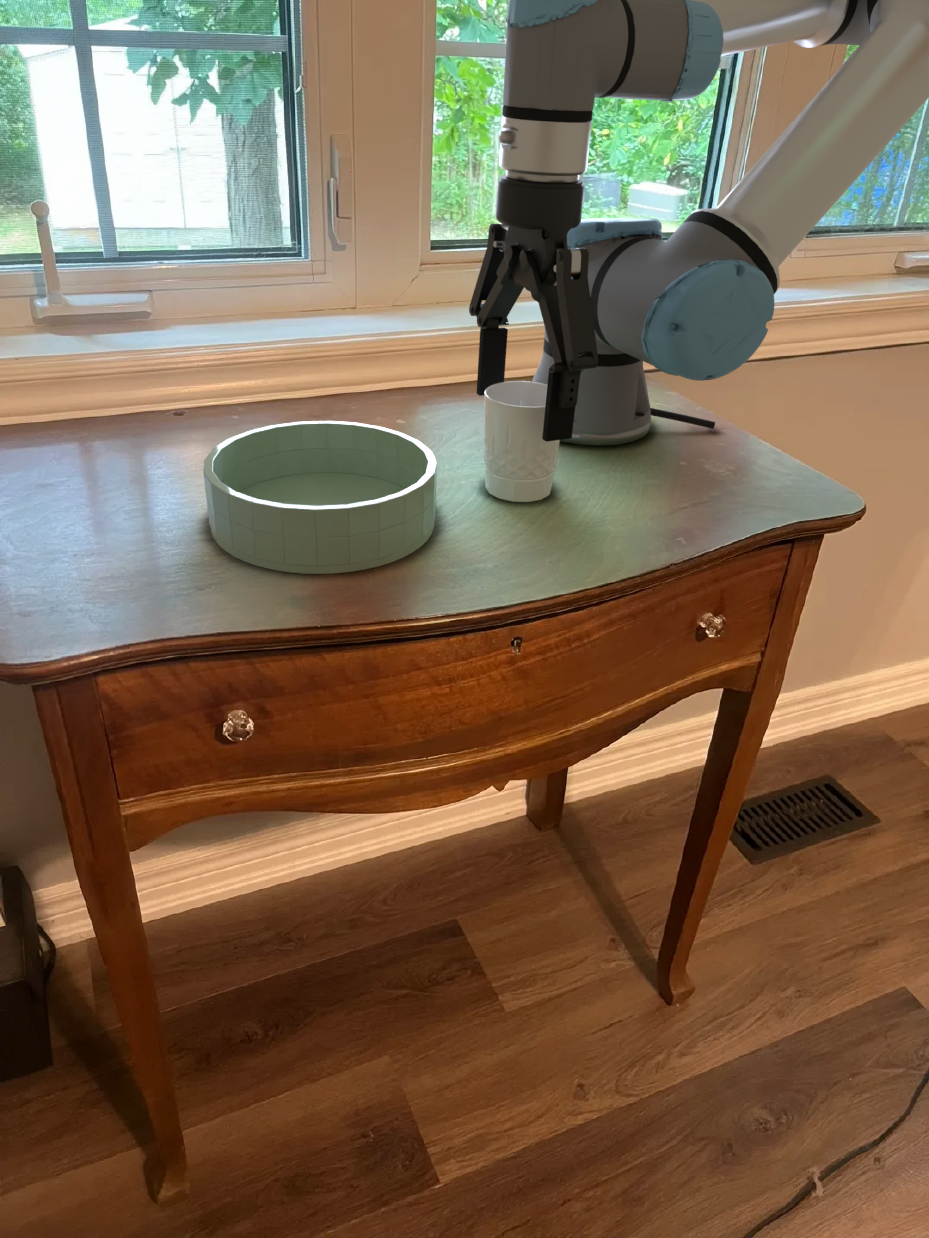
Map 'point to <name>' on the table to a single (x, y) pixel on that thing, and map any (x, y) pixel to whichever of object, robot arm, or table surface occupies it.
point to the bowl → (321, 496)
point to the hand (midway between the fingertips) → (521, 415)
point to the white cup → (517, 442)
